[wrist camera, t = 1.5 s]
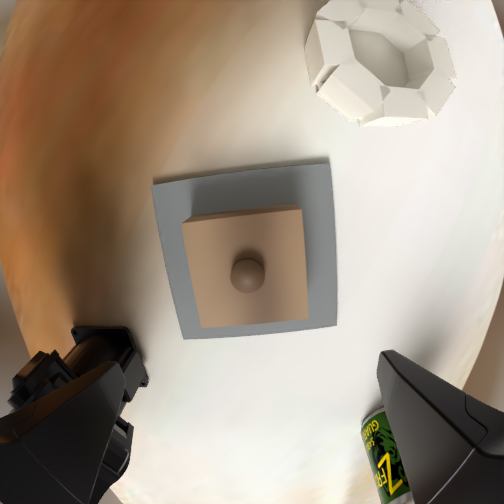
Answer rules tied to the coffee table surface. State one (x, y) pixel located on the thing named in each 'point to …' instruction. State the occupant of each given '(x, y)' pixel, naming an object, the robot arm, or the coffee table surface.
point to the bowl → (379, 62)
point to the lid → (248, 265)
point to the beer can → (385, 460)
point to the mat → (247, 197)
